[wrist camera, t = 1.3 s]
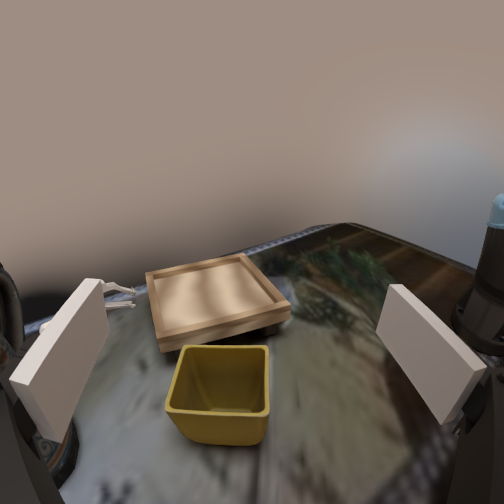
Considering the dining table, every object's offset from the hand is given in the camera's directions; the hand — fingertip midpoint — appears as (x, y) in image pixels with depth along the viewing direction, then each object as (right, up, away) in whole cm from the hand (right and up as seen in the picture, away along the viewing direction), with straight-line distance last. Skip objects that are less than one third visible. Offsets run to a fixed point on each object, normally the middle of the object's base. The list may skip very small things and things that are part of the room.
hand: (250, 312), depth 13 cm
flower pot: (-2, -17, +16) cm, 23 cm away
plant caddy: (-6, -8, +34) cm, 36 cm away
